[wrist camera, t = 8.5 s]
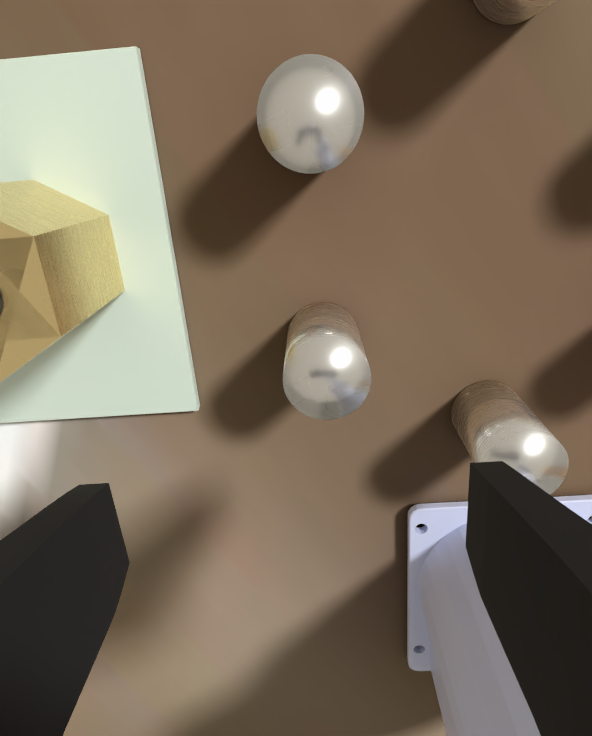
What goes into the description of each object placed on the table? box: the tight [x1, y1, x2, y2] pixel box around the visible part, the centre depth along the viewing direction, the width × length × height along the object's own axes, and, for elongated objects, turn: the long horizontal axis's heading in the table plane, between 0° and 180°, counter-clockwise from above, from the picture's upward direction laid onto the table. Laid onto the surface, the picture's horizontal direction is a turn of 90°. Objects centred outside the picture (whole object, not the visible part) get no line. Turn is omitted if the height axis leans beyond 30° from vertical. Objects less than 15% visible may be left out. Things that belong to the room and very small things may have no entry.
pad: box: [0, 46, 200, 423], centre depth 18 cm, size 12×8×1 cm, turn 5°
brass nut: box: [0, 180, 125, 382], centre depth 15 cm, size 5×4×5 cm
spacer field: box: [257, 0, 569, 495], centre depth 15 cm, size 17×15×4 cm
